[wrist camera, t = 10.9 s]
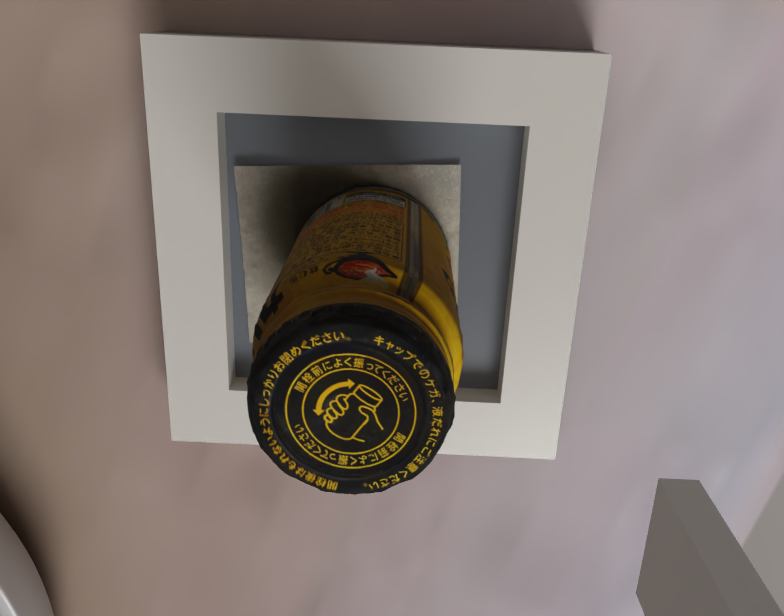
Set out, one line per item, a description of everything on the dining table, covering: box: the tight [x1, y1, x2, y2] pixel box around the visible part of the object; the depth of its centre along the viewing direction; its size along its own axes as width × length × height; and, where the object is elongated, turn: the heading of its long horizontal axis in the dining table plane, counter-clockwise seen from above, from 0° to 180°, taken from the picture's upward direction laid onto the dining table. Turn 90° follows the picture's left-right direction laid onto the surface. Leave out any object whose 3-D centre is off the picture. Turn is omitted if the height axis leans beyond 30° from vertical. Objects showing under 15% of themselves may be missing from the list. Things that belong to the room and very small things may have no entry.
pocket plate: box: [140, 31, 612, 459], centre depth 30 cm, size 16×16×3 cm
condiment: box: [234, 165, 464, 494], centre depth 24 cm, size 7×8×12 cm
